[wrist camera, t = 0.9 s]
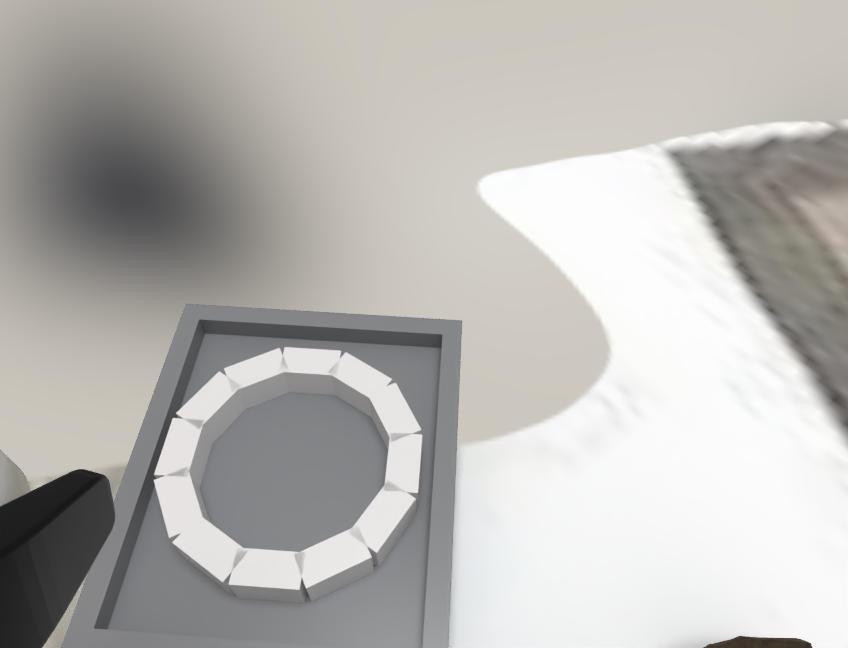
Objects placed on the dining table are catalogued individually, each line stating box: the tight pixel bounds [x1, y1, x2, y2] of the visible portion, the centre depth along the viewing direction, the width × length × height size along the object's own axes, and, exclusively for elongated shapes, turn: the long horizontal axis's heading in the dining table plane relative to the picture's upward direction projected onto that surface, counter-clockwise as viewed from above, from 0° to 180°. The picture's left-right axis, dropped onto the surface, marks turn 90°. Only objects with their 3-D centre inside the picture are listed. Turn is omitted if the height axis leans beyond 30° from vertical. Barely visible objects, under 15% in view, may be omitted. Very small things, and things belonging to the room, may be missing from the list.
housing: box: [61, 304, 462, 648], centre depth 26 cm, size 14×12×2 cm
